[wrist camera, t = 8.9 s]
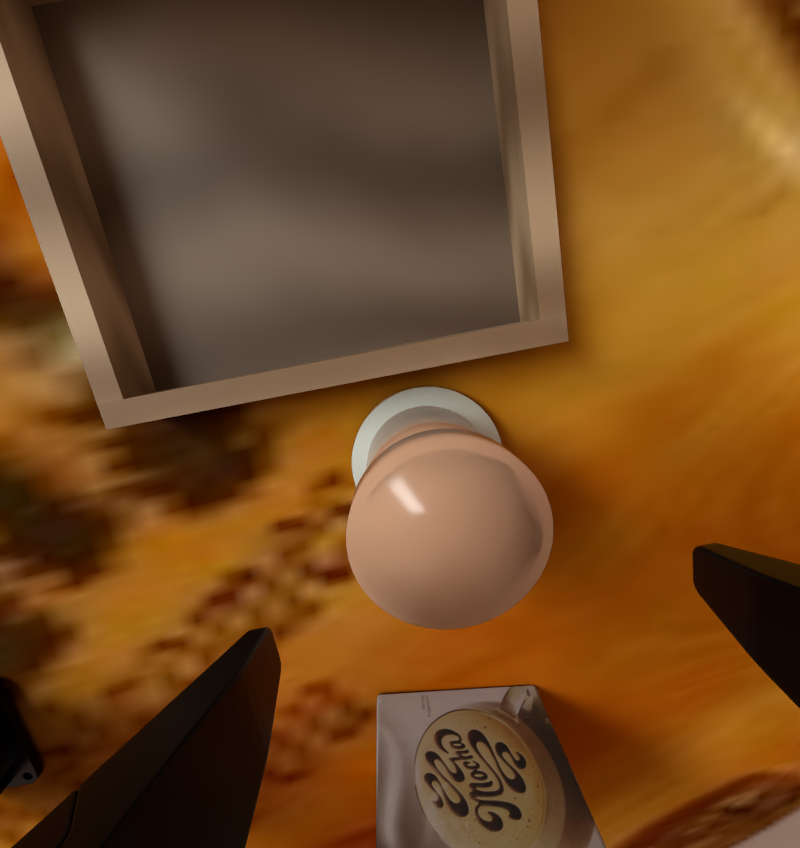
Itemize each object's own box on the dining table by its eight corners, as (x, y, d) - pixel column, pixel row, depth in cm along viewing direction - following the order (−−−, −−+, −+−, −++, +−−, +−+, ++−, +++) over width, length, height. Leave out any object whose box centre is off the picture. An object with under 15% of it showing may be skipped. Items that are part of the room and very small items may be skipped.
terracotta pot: (498, 510, 19) (563, 608, 12) (374, 534, 19) (369, 645, 12) (480, 387, 18) (541, 419, 11) (348, 412, 18) (324, 461, 11)
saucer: (506, 510, 20) (511, 517, 19) (369, 536, 20) (368, 545, 19) (487, 372, 18) (492, 373, 17) (338, 401, 18) (336, 403, 17)
